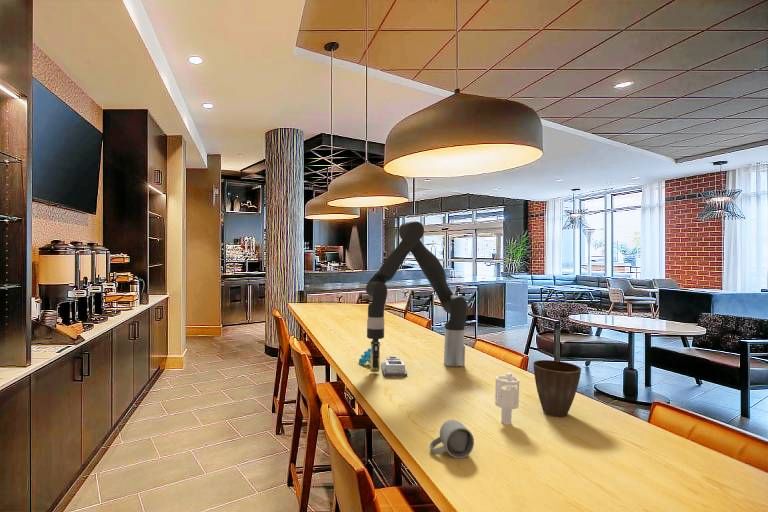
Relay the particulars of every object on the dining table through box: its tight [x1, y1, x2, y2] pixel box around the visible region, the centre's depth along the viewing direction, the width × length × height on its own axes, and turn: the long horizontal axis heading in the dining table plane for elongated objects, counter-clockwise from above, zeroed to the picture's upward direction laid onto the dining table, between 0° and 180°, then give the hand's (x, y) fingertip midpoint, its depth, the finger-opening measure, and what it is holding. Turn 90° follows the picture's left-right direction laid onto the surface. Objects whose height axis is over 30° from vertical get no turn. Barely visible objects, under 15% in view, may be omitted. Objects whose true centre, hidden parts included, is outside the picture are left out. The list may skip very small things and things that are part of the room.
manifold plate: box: [380, 355, 408, 377], centre depth 186 cm, size 10×18×5 cm, turn 4°
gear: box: [358, 347, 371, 366], centre depth 196 cm, size 11×6×10 cm
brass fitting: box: [369, 353, 381, 373], centre depth 180 cm, size 4×4×8 cm
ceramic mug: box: [429, 419, 475, 459], centre depth 110 cm, size 11×8×8 cm
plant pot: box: [532, 359, 582, 418], centre depth 139 cm, size 15×15×16 cm
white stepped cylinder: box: [494, 371, 520, 426], centre depth 130 cm, size 7×7×15 cm
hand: (374, 366), depth 180 cm, fingers closed on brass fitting, 4 cm apart
